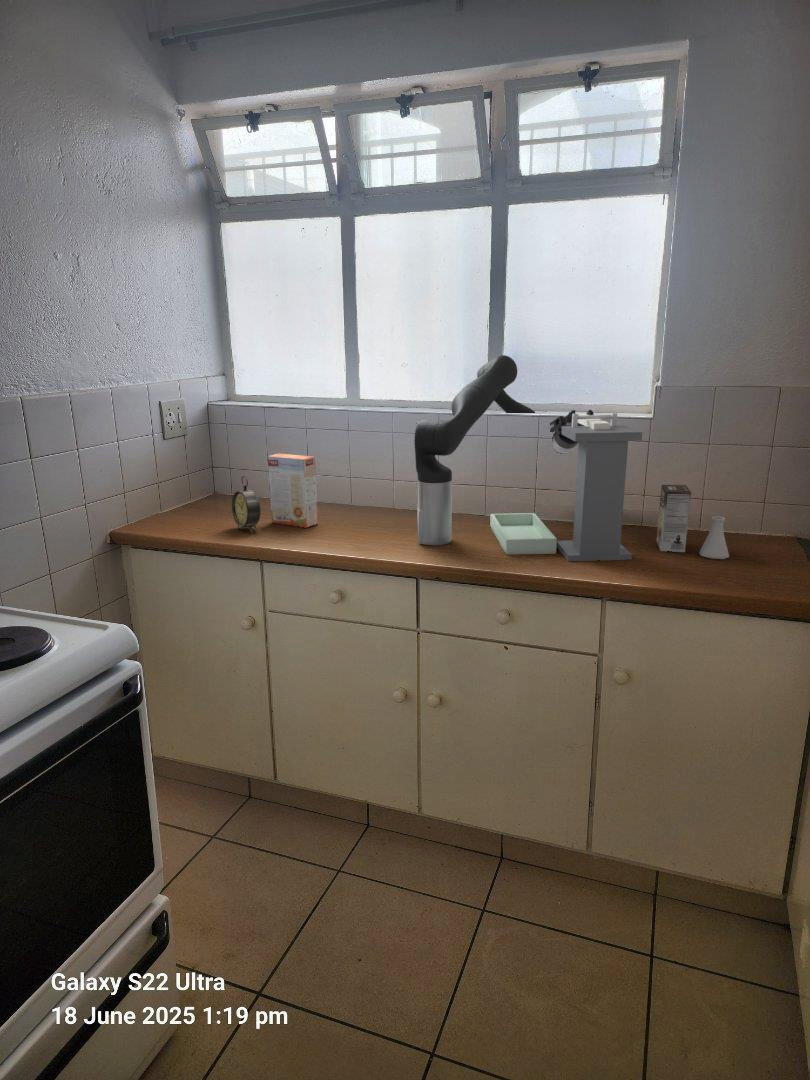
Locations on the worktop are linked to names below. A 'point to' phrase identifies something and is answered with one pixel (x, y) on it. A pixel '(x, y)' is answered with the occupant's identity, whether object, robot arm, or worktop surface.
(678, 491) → the coffee box
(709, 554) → the flask
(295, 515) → the cracker box
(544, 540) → the tray
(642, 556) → the worktop surface
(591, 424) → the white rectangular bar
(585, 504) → the grey pedestal stand
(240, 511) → the alarm clock
